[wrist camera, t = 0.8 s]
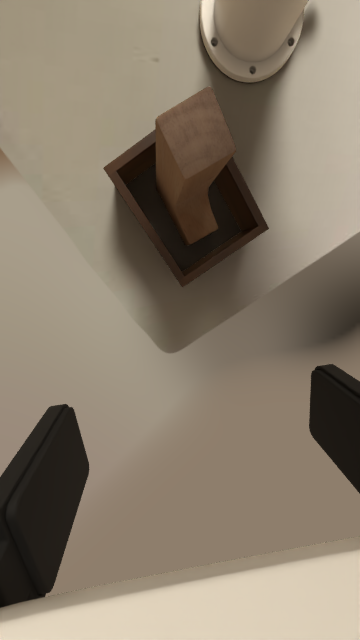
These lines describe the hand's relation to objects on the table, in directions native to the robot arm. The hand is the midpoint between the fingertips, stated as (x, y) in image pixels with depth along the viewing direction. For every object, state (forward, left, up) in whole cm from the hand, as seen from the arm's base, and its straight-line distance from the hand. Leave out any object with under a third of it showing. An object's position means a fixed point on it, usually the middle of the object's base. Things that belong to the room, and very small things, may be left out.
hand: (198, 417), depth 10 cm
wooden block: (-9, -9, -30) cm, 32 cm away
